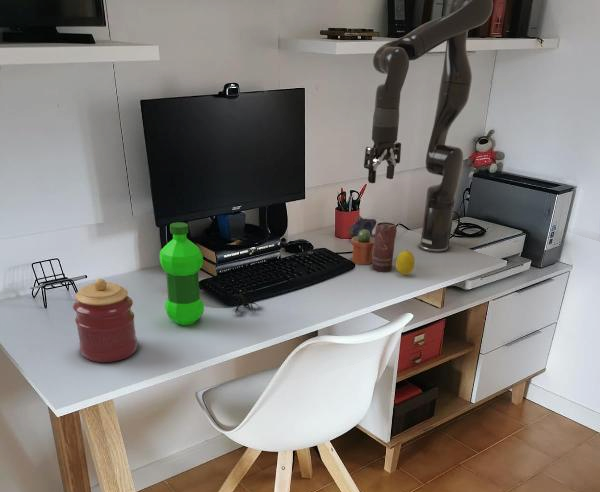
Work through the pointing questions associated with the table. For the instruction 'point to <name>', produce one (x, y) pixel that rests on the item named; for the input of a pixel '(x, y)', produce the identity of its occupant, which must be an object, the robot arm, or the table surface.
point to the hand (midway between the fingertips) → (380, 180)
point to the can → (384, 246)
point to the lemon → (405, 262)
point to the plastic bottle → (182, 276)
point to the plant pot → (363, 248)
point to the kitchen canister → (105, 322)
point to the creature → (240, 301)
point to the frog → (362, 227)
